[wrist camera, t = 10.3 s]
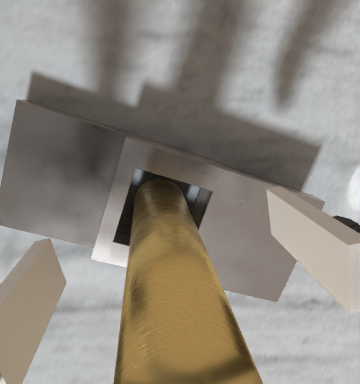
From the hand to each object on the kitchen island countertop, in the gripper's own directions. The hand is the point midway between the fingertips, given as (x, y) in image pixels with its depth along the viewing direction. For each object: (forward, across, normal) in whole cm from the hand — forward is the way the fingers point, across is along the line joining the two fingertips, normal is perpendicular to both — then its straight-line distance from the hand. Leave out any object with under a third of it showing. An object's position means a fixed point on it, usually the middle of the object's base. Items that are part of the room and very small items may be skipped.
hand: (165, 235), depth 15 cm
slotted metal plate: (+6, 0, 0) cm, 6 cm away
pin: (+6, 0, 0) cm, 6 cm away
